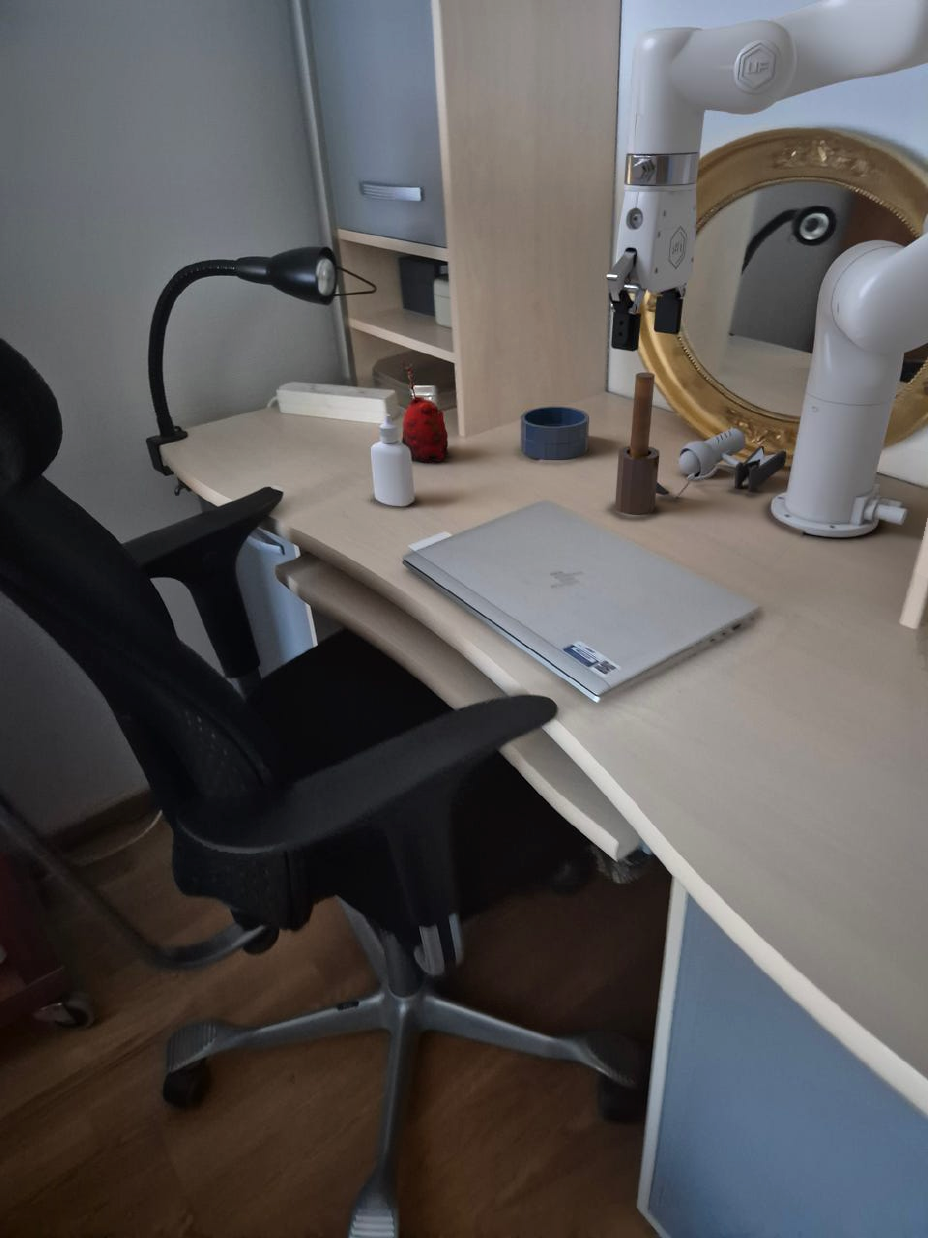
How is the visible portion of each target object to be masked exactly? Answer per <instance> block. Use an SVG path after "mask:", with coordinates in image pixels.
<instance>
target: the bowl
mask: <svg viewBox="0 0 928 1238" xmlns="http://www.w3.org/2000/svg"><path fill="white" fill-rule="evenodd" d="M589 433H590V416H589V414H588V413H587V412H585V411H584V410H581V409H579V408H575V407H569V406H554V405H553V406H543V407H542V406H541V407H536V408H531V409H529V410H527V411H525V412H523V413H522V414H521V415H520V451H521V452H522V453H523V454H524V455H526V456H528V457H530V458H531V459H535V460H538V461H540V460H549V461H557V460H558V461H561V460H569V459H574V458H577V457H580V456H582V455H583V454H585V453H586V452H587V450H589V449H588V448H589Z"/></svg>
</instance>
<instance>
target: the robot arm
mask: <svg viewBox="0 0 928 1238" xmlns="http://www.w3.org/2000/svg"><path fill="white" fill-rule="evenodd" d="M632 52H633V53H632V64H631V78H630V94H629V108H628V109H629V110H628V111H629V112H628V121H627V136H626V138H627V139H626V150H625V151H626V154H625V165H624V166H625V167H624V179H623V180H624V181H623V190H624V191H625V192H624V197H623V202H622V208H621V214H620V219H619V226H618V227H619V228H618V236H617V244H616V254H615V264H614V265H613V267H612V268H611V269H610V270H609V271H608V273H607V275H606V282H607V287H608V299H609V302H610V304H611V305H610V311H611V312H612V326H611V340H610V346H611V348H612V349H614V350H620V351H626V352H631V353H632V352H633V353H634V352H636V351H638V349H639V344H640V332H641V320H642V313H639V312H638V311H639V309H640V307H641V304H642V303H643V300H644V297H645V295H646V292H648V293H649V294H660V295H657V296H656V299H655V301H656V302H655V310H654V320H653V321H654V322H653V331H654V332H655V333H661V334H667V335H668V334H669V335H678V334H679V333H680V331H681V324H682V315H683V308H684V307H683V306H684V298H685V296H686V294H687V288H686V285H687V283H688V282H689V281H690V280H691V278H692V276H693V273H694V263H695V262H694V261H695V252H696V251H695V249H696V233H697V182H698V175H699V166H700V165H699V164H700V157H701V148H702V147H701V146H702V137H703V128H704V119H705V113H706V111H713V112H722V113H727V114H731V115H741V116H742V115H744V116H745V115H746V116H747V115H754V114H758V113H761V112H763V111H765V110H767V109H768V108H770V107H771V106H773V105H774V104H776V103H777V102H780V101H783V100H786V99H789V98H792V97H795V96H798V95H801V94H804V93H809V92H811V91H815V90H818V89H821V88H825V87H828V86H832V85H835V84H839V83H843V82H848V81H852V80H856V79H863V78H872V77H873V78H874V77H880V76H886V75H889V74H893V73H897V72H900V71H904V70H910V69H912V68H917V67H919V66H921V65H925V64H928V0H820V1H816V2H814V3H810V4H809V5H806V6H803V7H800V8H797V9H795V10H792V11H789V12H786V13H784V14H781V15H778V16H775V17H772V18H769V19H767V20H766V19H755V20H749V21H744V22H740V23H739V22H738V23H735V24H730V25H725V26H719V27H713V28H706V29H705V28H703V29H702V28H700V27H692V26H682V27H681V26H678V27H676V26H675V27H663V28H655V29H651V30H647V31H645V32H643V33H641V34H640V35H639V36H638V38H637V39H636V41H635V43H634V47H633V51H632ZM630 294H633V296H632V298H631V296H630ZM814 327H815V328H814V339H813V345H812V346H813V348H812V355H811V361H810V366H809V371H808V372H809V373H808V378H807V384H806V388H805V392H804V398H803V403H802V409H801V414H800V419H799V424H798V431H797V435H796V441H795V446H794V450H793V457H792V462H791V467H790V472H789V478H788V484H787V489H786V491H785V492H782V493H780V494H778V495H775V497H774V498H773V499H772V500H771V504H770V512H771V514H772V515H773V516H774V517H775V518H776V519H777V520H778V521H780V522H782V523H783V524H785V525H788V526H790V527H792V528H795V529H798V530H802V533H804V534H808V535H812V536H818V537H827V538H851V537H857V536H863V535H866V534H868V533H870V532H872V531H873V530H875V529H876V528H877V526H878V525H879V521H880V520H881V521H885V522H887V523H891V524H895V525H898V526H902V525H903V524H904V522H905V520H906V518H907V515H908V514H907V513H908V509H907V508H902V506H903V505H902V504H903V502H902V501H899V500H894V499H887V498H883V496H882V495H881V494H879V491H880V487H881V484H879V483H875V481H876V480H875V479H876V476H877V472H878V467H879V464H880V460H881V456H882V451H883V448H884V443H885V439H886V435H887V431H888V427H889V423H890V420H891V415H892V411H893V407H894V402H895V399H896V396H897V393H898V392H897V391H898V388H899V384H900V381H901V380H900V379H901V375H902V371H903V363H904V356H905V353H908V352H911V351H913V350H915V349H918V348H920V347H922V346H924V345H926V344H928V213H927V214H926V216H925V218H924V221H923V227H922V235H921V236H919V237H918V238H916V240H914V241H913V242H911V243H909V244H908V245H907V246H904V245H901V244H899V243H896V242H895V241H894V242H893V241H890V240H884V239H872V240H867V241H863V242H859V243H857V244H855V245H854V246H851V247H849V248H848V249H846V250H845V251H844V252H842V253H841V254H840V255H839V256H838V257H837V258H836V259H835V260H834V261H833V262H832V264H831V265H830V267H829V268H828V270H827V272H826V273H825V275H824V277H823V280H822V282H821V285H820V289H819V293H818V299H817V305H816V316H815V326H814Z"/></svg>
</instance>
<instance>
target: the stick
mask: <svg viewBox="0 0 928 1238" xmlns="http://www.w3.org/2000/svg"><path fill="white" fill-rule="evenodd" d="M655 377H656V375H655V374H654V373H653V372H648V371H647V372H643V371H642V372H638V373H636V374H635V380H634V381H635V383H634V395H633V408H632V409H633V410H632V423H631V433H630V446H631V447H630V455H631V456H637V457H643V456H648V447H650V435H651V424H652V414H653V413H652V411H653V401H654V400H653V399H654V388H655Z"/></svg>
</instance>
